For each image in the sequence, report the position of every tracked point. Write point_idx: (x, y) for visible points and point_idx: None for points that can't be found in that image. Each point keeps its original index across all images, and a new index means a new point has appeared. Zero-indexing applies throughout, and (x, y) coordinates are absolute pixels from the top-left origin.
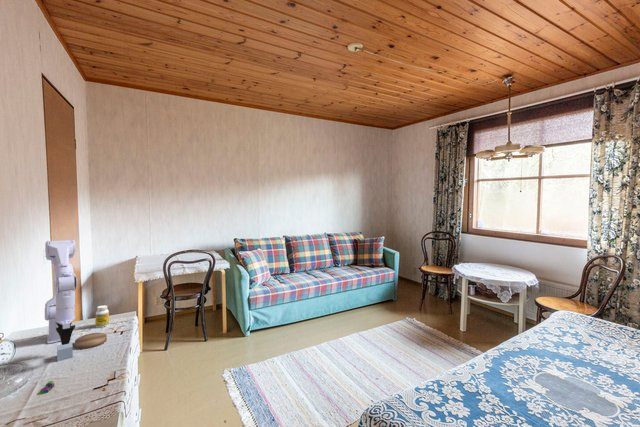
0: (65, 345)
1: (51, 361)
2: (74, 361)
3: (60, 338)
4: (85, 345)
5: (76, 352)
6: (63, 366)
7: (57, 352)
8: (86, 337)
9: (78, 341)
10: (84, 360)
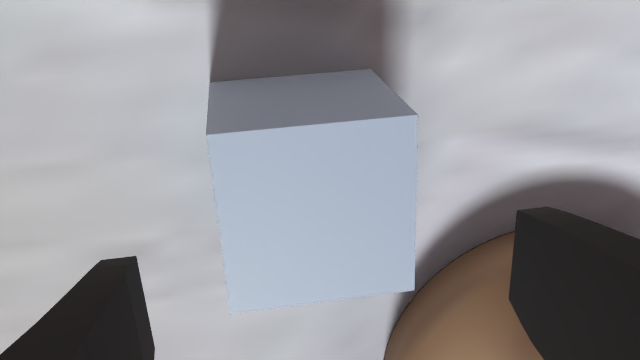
0: (348, 224)
1: (252, 16)
2: (99, 253)
3: (8, 350)
4: (408, 351)
5: None
6: (7, 157)
7: (209, 121)
8: None
9: None
10: None
